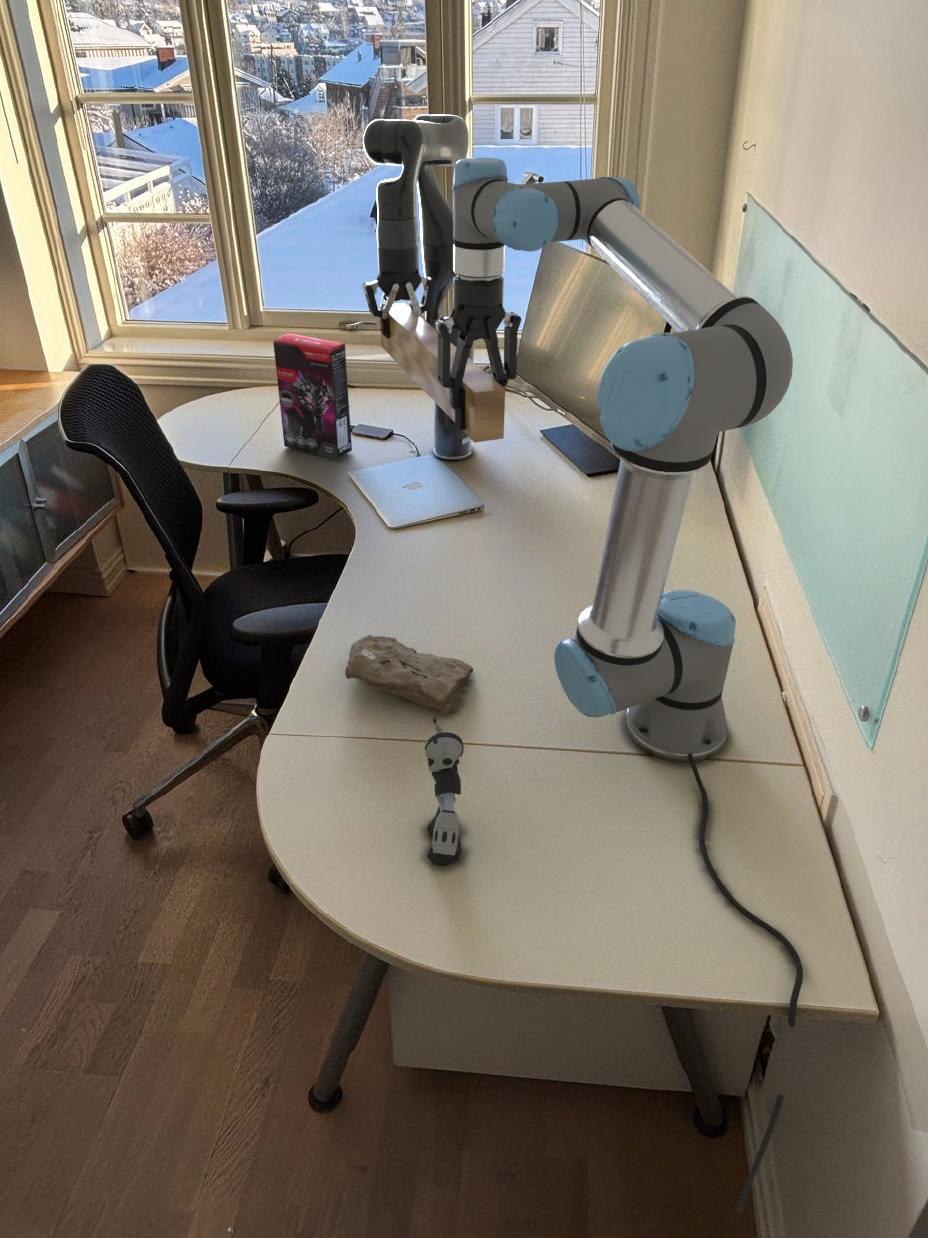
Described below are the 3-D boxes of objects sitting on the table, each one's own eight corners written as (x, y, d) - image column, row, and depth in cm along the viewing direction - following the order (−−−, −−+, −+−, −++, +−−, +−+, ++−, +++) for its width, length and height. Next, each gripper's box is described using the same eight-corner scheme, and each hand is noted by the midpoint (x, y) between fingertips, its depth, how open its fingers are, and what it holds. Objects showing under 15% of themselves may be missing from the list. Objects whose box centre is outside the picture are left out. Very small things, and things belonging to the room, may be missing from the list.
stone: (320, 686, 146) (326, 652, 144) (355, 651, 160) (362, 621, 157) (443, 730, 143) (452, 697, 140) (469, 692, 156) (477, 661, 154)
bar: (503, 438, 146) (505, 388, 141) (474, 442, 144) (475, 392, 140) (405, 343, 185) (404, 302, 181) (381, 346, 184) (379, 304, 179)
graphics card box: (282, 447, 232) (270, 339, 217) (298, 438, 237) (288, 331, 222) (338, 461, 225) (330, 350, 210) (354, 451, 230) (347, 342, 215)
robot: (466, 900, 116) (468, 784, 104) (427, 902, 115) (425, 785, 104) (459, 789, 132) (460, 678, 121) (425, 790, 132) (423, 679, 120)
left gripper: (428, 235, 174) (429, 326, 183) (354, 241, 170) (359, 333, 179) (441, 244, 168) (442, 337, 178) (365, 250, 164) (370, 345, 173)
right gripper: (524, 264, 142) (518, 409, 154) (412, 274, 136) (416, 423, 149) (544, 275, 136) (537, 425, 149) (428, 286, 130) (431, 440, 143)
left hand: (400, 335), depth 178 cm, fingers closed on bar, 5 cm apart
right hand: (476, 424), depth 149 cm, fingers closed on bar, 5 cm apart
